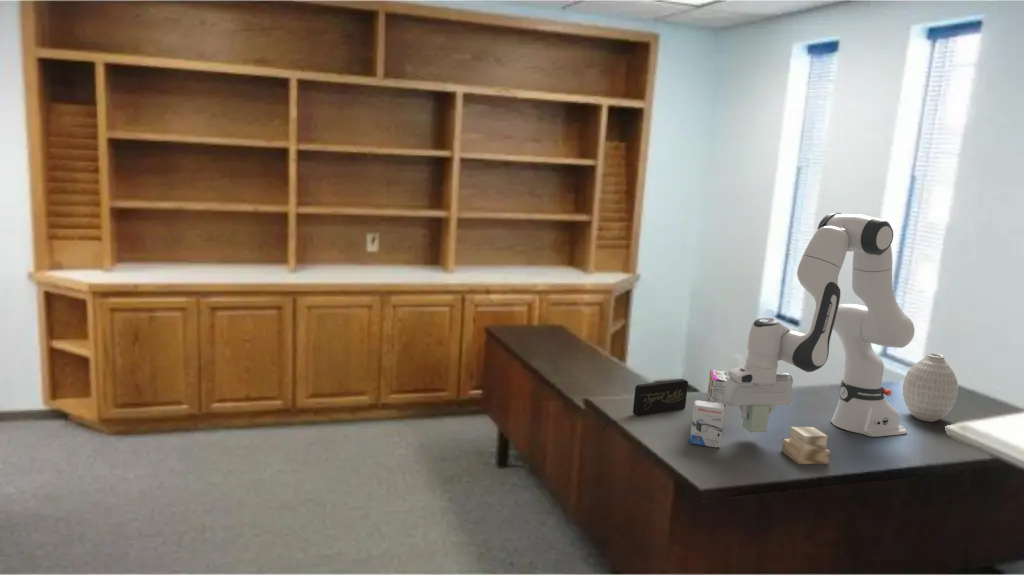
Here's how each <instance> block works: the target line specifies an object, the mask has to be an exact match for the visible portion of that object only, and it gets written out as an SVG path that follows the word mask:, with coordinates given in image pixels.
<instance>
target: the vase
mask: <svg viewBox="0 0 1024 575" xmlns="http://www.w3.org/2000/svg"><path fill="white" fill-rule="evenodd" d="M958 394H959V383H958V379H957V376H956V373H955V372H954V370H953V369H952V368H951V367H950V365H949V363H948V362H946V360H945V356H944V355H942V354H939V353H934V352H933V353H927V354H926V356H925V357H924V358H922V359H921V360H919V361H917V362H916V363H914V364H913V365H912V366H911V367H910V368H909V370H908V371H907V372H906V374H905V377H904V380H903V381H902V396H903V401H904V403H905V406H906V407H907V409H908V411H909V412H910V413H911V415H912V416H913V418H916V419H917V420H919V421H923V422H930V423H931V422H933V423H934V422H937V421H939V420H940V419H942V418H943V417H945V416H946V415H947V414H948V413H949V412H950V411H951V410H952V409H953V407H954V406H955V404H956V402H957V399H958Z"/></svg>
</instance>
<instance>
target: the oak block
mask: <svg viewBox="0 0 1024 575" xmlns="http://www.w3.org/2000/svg"><path fill="white" fill-rule="evenodd" d="M781 452H783V454H785V455H786V456H788V457H789V458H790V459H792V460H793V461H794V462H795V463H797V464H799V465H802V464H803V465H810V464H811V465H813V464H814V465H817V464H818V465H829V462H830V456H831V451H830V450H829V449H827V448H826V450H802V449H801V448H800V447H798V446H797V445H795V444H794V443H792V442H791V441H790V440H789V438H783V439H782V446H781Z"/></svg>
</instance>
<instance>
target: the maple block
mask: <svg viewBox="0 0 1024 575" xmlns="http://www.w3.org/2000/svg"><path fill="white" fill-rule="evenodd" d="M828 437H829V436H828V435H826V434H825V433H824V432H822V431H820V429H817V428H816V427H814V426H791V427H790V432H789V438H788V439H789V440H790V441H791V442H792V443H794V444H795V445H797V446H798V447H800V448H801V449H802V450H826V449H827V444H828Z"/></svg>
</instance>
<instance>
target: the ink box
mask: <svg viewBox="0 0 1024 575" xmlns="http://www.w3.org/2000/svg"><path fill="white" fill-rule="evenodd" d="M692 410H693V411H692V417H691V420H692V421H691V427H690V433H689V443H690V444H692V445H699V446H705V447H713V448H717V447H719V448H721V445H722V444H721V443H722V437H723V430H724V420H725V412H726V405H725V406H724V405H723V404H720V403H713V402H707V400H705V401H704V400H699V399H698V400H694V402H693V409H692ZM719 448H718V449H719Z"/></svg>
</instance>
